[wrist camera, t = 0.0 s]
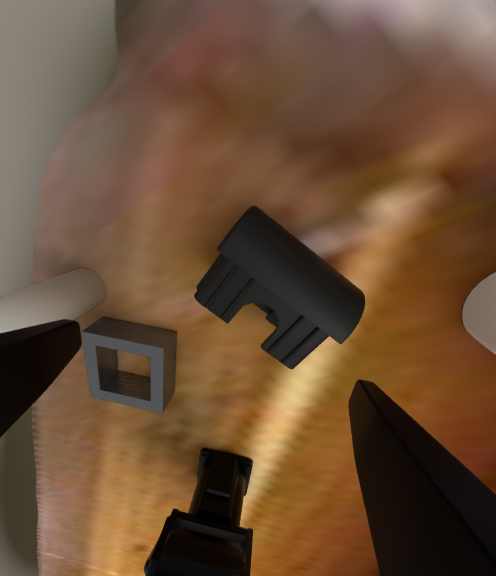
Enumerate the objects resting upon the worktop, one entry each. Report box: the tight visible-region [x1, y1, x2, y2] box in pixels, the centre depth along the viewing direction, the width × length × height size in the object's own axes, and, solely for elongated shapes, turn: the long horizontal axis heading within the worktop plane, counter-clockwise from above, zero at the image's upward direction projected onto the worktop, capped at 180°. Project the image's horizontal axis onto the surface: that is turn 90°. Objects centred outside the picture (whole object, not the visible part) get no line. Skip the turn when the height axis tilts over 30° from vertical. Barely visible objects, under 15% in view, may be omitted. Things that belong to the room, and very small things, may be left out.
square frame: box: [82, 317, 177, 413], centre depth 26 cm, size 8×8×3 cm
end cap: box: [194, 206, 365, 369], centre depth 19 cm, size 10×7×7 cm
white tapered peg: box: [0, 268, 106, 333], centre depth 19 cm, size 4×4×14 cm
